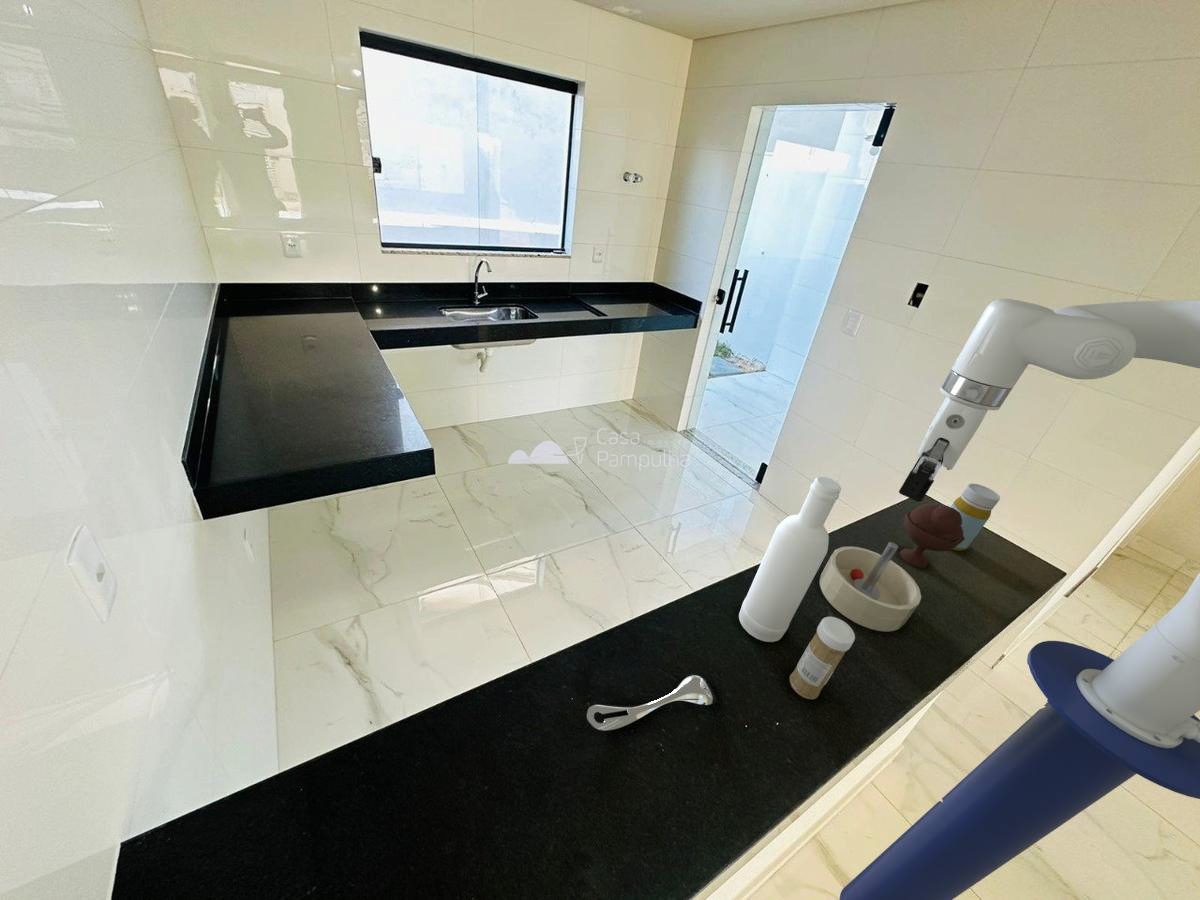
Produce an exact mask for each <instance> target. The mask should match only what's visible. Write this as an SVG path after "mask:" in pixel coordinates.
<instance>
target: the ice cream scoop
mask: <svg viewBox="0 0 1200 900" xmlns="http://www.w3.org/2000/svg"><path fill="white" fill-rule="evenodd" d="M716 696H717V695H716V694H715V692H714V690H713V688H712V686H711V685H710V683H709V681H708V680H707V679H706V678H705V677H704V676H702V674H698V673H690V674H688V675H686V676H685V677H684V678H683V680H682V681H681V682H680V683H679V684H678V686H677V687H676V688H675V689H674V690H673V691H672V692H671V693H669V694H667V695H665V696H663V697H661V698H659V699H657V700H654V701H651V702H648V703H647V702H646V703H643V704H637V705H614V704H594V705H591V706H590V707H589V708H588V709H587V711H586V714H585V719H586V722H587V723H588V724H589V725H590V727H592V728H593V729H595V730H596V731H601V732H606V731H607V732H608V731H612V730H617V729H620V728H623V727H625V726H628V725H629V724H632V723H633V722H636V721H638V720H639V719H641V718H643V717H645V716H646V715H648V714H649V713H651V712H653V711H654V710H657V709H658V708H660V707H661V706H663V705H666V704H669V703H672V702H677V701H678V702H679V701H683V702H688V703H693V704H697V705H702V706H709V705H713V704H716V703H717V697H716ZM621 712H626V713H627V714H626V715H620V716H613V717H608V718H604V719H603V721H602V722H598V721H596V719H595V714H597V713H598V714H601V715H608V714H615V713H621Z"/></svg>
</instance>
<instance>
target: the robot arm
mask: <svg viewBox="0 0 1200 900" xmlns="http://www.w3.org/2000/svg"><path fill="white" fill-rule="evenodd" d="M1133 358H1134V359H1145V360H1155V361H1160V362H1167V363H1172V364H1177V365H1182V366H1186V367H1191V368H1195V369H1200V299H1188V300H1187V299H1185V300H1183V299H1181V300H1180V299H1179V300H1141V301H1139V300H1137V301H1120V302H1106V303H1093V304H1092V303H1091V304H1090V303H1089V304H1080V305H1079V304H1078V305H1069V306H1063V307H1059V308H1056V309H1053V310H1052V309H1051V308H1049V307H1047V306H1044V305H1040V304H1036V303H1032V302H1028V301H1024V300H1019V299H1013V298H998V299H994V300H993V301H991V302H990V303H989V304H988V305H987V306H986V308H985V309H984V311H983V313H981V316H980V318H979V320H978V321H977V323H976V325H975V326H974V328H973V330H972V332H971V334H970V335H969V337H968V339H967V341H966V342H965V344H964V346H963V348H962V350H961V351H960V353H959V355H958V356H957V358H956V360H955V362H954V363H953V365H952V367H951V368H950V370H949V372H948V374H947V376H946V377H945V380H944V381H943V383H942V385H941V386H940V388H939V392H940V393H941V394H942V395H944V396H945V398H944V400H943V402H942V404H941V405H940V407H939V409H938V411H937V412H936V414H935V415H934V418H933V420H932V422H931V423H930V425H929V427H928V429H927V431H926V433H925V435H924V437H923V440H922V442H921V444H920V447H919V449H918V451H917V458H918V459H917V460H916V462H915V464H914V466H913V468H912V469H911V470H910V471H909V473H908V475H907V476H906V478H905V480H904V482H903V483H902V485H901V487H900V488H899V491H898V493H899V495H902V496H904V497H906V498H908V499H911V500H913V501H915V502H917V503H921V502H922V501H923V500H924V498H925V497H926V495H927V493H928V491H929V490H930V488H931V487H932V485H933V484H934V482H935V480H934V479H935V477H936V475H937V474H938V472H939V471H940V469H941V467H942V466H943V467H944V468H946V470H947V471H950V470H953V469H954V468H955V466H956V464H957V462H958V461H959V459H960V458H961V456H962V454H963V453H964V451H965V450H966V448H967V447H968V445H969V443H970V442H971V440H972V439H973V437H974V436H975V434H976V432H977V430H978V429H979V428H980V426H981V424H982V423H983V421H984V419H985V417H986V415H987V413H988V411H998V410H1000V409H1001V407H1002V406H1003V404H1004V403H1005V401H1006V400H1007V398H1008V397H1009V395H1010V394H1011V392H1012V390H1013V389H1014V387H1015V386H1016V384H1017V383H1018V381H1019V380H1020V378H1021V377H1022V375H1023V373H1024V372H1025V370H1026V369H1027V367H1028V366H1029V365H1031V366H1036V367H1038V368H1041V369H1043V370H1047V371H1049V372H1052V373H1055V374H1056V375H1060V376H1062V377H1066V378H1070V379H1072V380H1073V379H1075V380H1086V381H1087V380H1098V379H1103V378H1106V377H1109V376H1112V375H1114V374H1116V373H1118V372H1120V371H1121V370H1123V369H1124V368H1126V366H1128V365H1129V363H1130V362H1131V361H1132V360H1133ZM1076 682H1077V685H1078V688H1079V690H1080V691H1081V693H1082V695H1083V696H1084V697H1085V699H1086V700H1087V701H1088V702H1089V703H1090V704H1091V706H1092V707H1093V708H1094V709H1096V710H1097V711H1098V712H1099V713H1100V714H1101V715H1102V716H1103V717H1105V718H1106V719H1107V720H1108V721H1110V722H1111V723H1112V724H1114V725H1115V726H1117V727H1118V728H1119V729H1121V730H1123V731H1124V732H1126V733H1128V734H1129V735H1131V736H1133V737H1135V738H1137V739H1139V740H1141V741H1143V742H1146V743H1148V744H1151V745H1154V746H1157V747H1162V748H1174V747H1176V746H1178V745H1179V744H1180V743H1182V742H1183V737H1185V738H1186V739H1193V740H1195V741H1197V742H1199V743H1200V722H1199V721H1196V720H1194V719H1193V718H1191V716H1193V715H1196V714H1197V713H1199V712H1200V572H1199V573H1198V574H1197V576H1196V577H1195V579H1194V580H1193V582H1192V583H1191V584H1190V586H1189V588H1188V590H1187V591H1186V592H1185V594H1184V595H1183V596H1182V597H1181V598H1180V600H1179V601H1178V602H1177V603H1176V604H1175V606H1173V607H1172V608H1171V609H1169V611H1168V612H1167V613H1166V614H1165V615H1164V616H1162V617H1161V618H1160V619H1159V620H1158V621H1157V622H1155V624H1153V626H1151V627H1150V628H1149V629H1148V630H1147V631H1145V632H1144V633H1143V634H1141V636H1140V637H1139V638H1137V640H1136V641H1134V642H1133V643H1132V644H1131V645H1130V646H1129V647H1128V648H1126V649H1125V650H1124V651H1123V652H1121V654H1120V655H1119V656H1117V657H1116V658H1115V659H1114V661H1113V662H1112V663H1111V664H1109V665H1108V666H1107V667H1106V668H1105V669H1104V670H1103V671H1101V670H1096V669H1085V670H1083V671H1081V672H1080V673H1079V674H1078V676H1077V677H1076Z"/></svg>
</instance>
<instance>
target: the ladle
mask: <svg viewBox="0 0 1200 900" xmlns="http://www.w3.org/2000/svg"><path fill="white" fill-rule="evenodd" d="M898 549H899V545H898V544H897V543H895V542H891V541H889V542H888V543H887V545H886V547H885V548H884V549H883V552H882V553H881V554H880V555H881V556H880V558H879V560H878V561H877V563H876V565H875V566H874V568H873V569H872V571H871V573H870V574H869V576H868V578H867V579H866V580H864V579H856V580H854V582H853V584H852V586H853V587H854V588H856V589H857V590H858V591H860V592H861V593H863V594H865V595H867V596H868V597H870V598H872V599H874V600H878V598H879V597H880V591H879V589H878V588H877V587H876V586H875V584H876V582H877V581H878V579H879V578H880V576H881V574H882V573H883V571H884V570H885V568H886V566H887V565H888V563H889V562H890V560H891V561H892V558H893V557H894V556H895V554H896V552H897V550H898Z"/></svg>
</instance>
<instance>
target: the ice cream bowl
mask: <svg viewBox="0 0 1200 900" xmlns="http://www.w3.org/2000/svg"><path fill="white" fill-rule="evenodd" d="M903 521H904V522H903V524H904V527H905V530H906V533H907V535H908V537H909V539H910V540H911V541H912V542H913V543H915V546H914V548H913V549H911V548H903V549H901V550H900V551H899V555H900V558H901V559H903V560H904V561H905V562H906V563H907V564H910V565H911V566H913V567H916V568H926V567H927V566H928V560H927V558H926V557H925V556H924V555H923V553H924V551H925V550H926V551H934V552H949V551H951V550H952V549H953V548H955V547H956V546H957V545H959V544H960V543H961V542H962V541H963V540H965V538H964V536H963V529H962V527H961V525H962V517H961V515H960V512H958V511H957V510H955V509H954V508H952V507H951V506H949V505H936V504H930V503H925V504H924V503H923V504H921V505H918V506H917V507H916V508H914V509H911V510H909V511H907V512H906V513H905V515H904V519H903Z"/></svg>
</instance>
